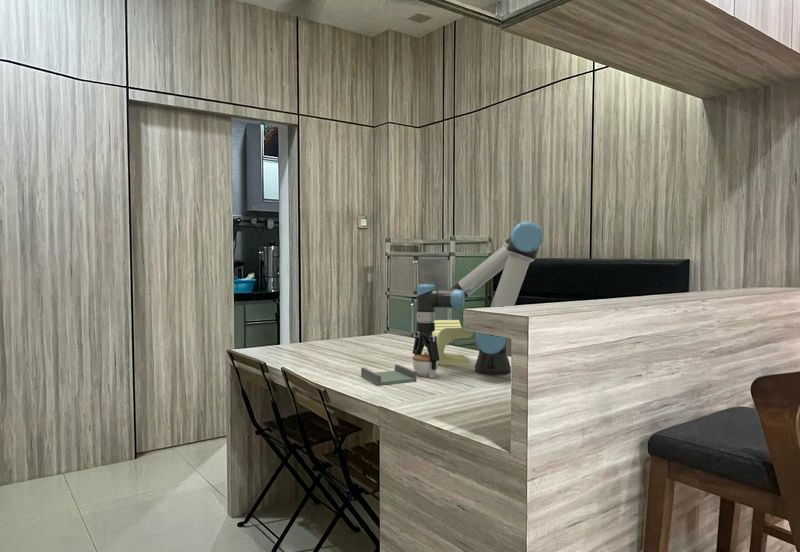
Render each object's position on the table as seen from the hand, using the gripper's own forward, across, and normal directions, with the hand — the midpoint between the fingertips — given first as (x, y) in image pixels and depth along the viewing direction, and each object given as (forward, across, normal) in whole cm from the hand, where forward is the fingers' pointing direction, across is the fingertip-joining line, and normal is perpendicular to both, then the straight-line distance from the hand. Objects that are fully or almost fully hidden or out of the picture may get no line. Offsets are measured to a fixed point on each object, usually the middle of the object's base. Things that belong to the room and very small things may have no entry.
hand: (425, 374), depth 220 cm
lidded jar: (0, 0, 0) cm, 0 cm away
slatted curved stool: (0, -20, +24) cm, 32 cm away
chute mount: (0, 0, -17) cm, 17 cm away
